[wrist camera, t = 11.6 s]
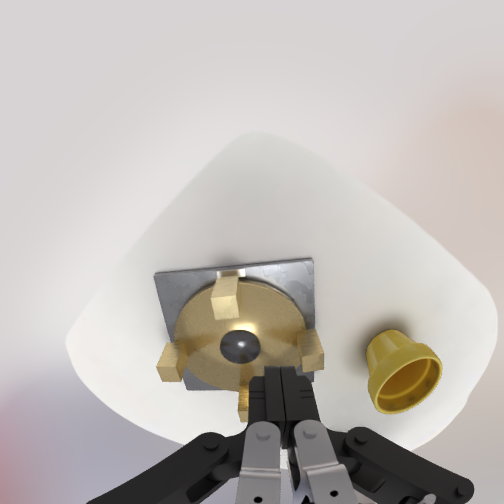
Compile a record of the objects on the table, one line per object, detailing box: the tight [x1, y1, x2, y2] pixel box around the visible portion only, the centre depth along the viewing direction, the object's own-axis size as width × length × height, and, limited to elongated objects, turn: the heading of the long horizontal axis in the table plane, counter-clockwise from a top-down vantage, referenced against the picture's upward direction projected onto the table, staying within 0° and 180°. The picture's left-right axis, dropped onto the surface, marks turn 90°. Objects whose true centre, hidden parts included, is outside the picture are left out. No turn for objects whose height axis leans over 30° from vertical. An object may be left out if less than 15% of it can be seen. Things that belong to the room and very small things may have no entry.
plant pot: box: [366, 330, 442, 414], centre depth 32 cm, size 10×10×10 cm
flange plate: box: [154, 258, 315, 390], centre depth 35 cm, size 19×19×1 cm
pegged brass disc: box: [156, 276, 324, 422], centre depth 32 cm, size 19×19×6 cm
